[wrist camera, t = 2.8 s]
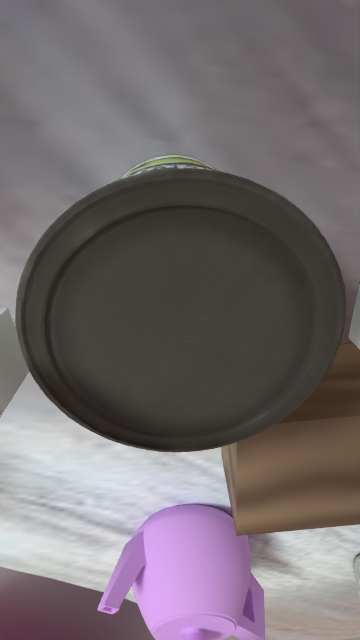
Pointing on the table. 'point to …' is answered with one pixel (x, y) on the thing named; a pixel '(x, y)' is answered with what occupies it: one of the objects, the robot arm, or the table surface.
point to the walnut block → (302, 460)
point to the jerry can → (357, 571)
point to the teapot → (190, 577)
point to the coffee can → (180, 308)
